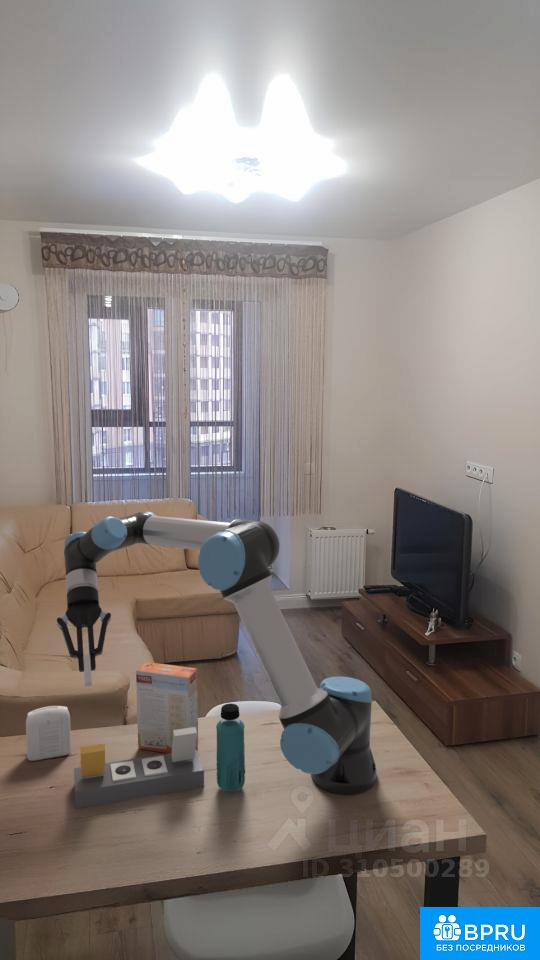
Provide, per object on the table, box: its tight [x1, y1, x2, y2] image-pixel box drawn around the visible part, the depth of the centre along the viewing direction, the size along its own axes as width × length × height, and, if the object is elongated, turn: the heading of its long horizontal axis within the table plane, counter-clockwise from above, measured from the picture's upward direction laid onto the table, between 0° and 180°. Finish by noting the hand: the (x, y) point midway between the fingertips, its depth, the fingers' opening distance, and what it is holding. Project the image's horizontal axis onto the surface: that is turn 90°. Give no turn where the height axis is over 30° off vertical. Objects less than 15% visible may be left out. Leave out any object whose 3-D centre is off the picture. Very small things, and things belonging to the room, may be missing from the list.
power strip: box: [73, 748, 205, 809], centre depth 157 cm, size 28×9×4 cm, turn 107°
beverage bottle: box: [215, 703, 246, 792], centre depth 155 cm, size 6×7×20 cm
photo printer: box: [25, 705, 72, 762], centre depth 168 cm, size 10×4×12 cm, turn 111°
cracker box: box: [135, 661, 199, 754], centre depth 171 cm, size 14×6×21 cm, turn 73°
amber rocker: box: [79, 743, 106, 778], centre depth 151 cm, size 5×2×10 cm, turn 107°
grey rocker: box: [172, 727, 197, 763], centre depth 157 cm, size 5×2×10 cm, turn 107°
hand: (88, 684), depth 159 cm, fingers closed
